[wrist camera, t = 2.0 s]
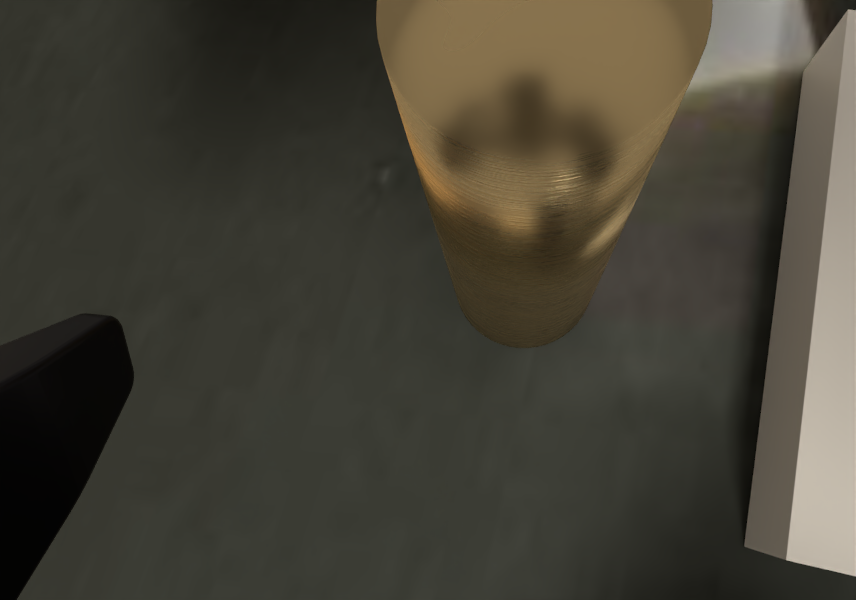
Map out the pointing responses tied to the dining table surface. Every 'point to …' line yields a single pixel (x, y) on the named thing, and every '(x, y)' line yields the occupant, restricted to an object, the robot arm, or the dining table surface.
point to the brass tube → (535, 139)
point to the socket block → (814, 334)
